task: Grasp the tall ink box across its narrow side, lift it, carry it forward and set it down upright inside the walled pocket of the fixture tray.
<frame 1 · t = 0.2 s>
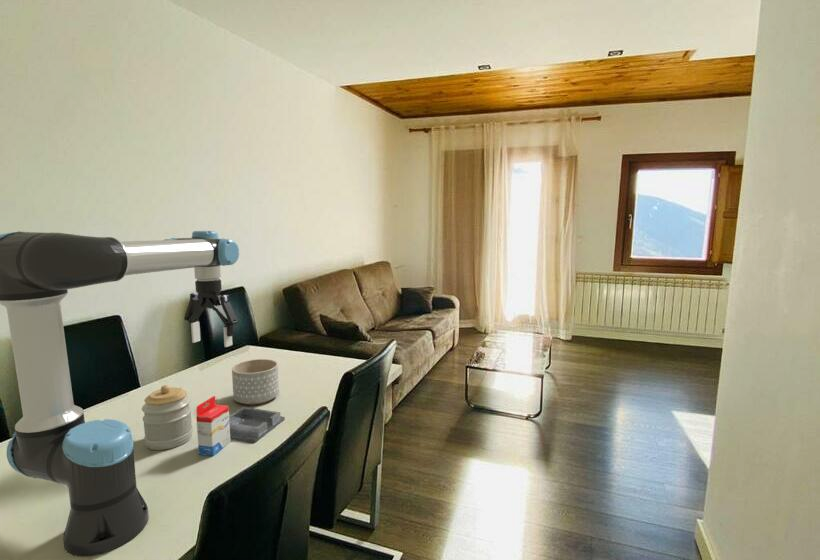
hand: (212, 343, 139), 27 cm above the table, fingers open, 13 cm apart
fixture tray: (250, 427, 140), on the table
planter: (256, 398, 164), on the table
ink box: (215, 448, 127), on the table
jar: (169, 440, 132), on the table
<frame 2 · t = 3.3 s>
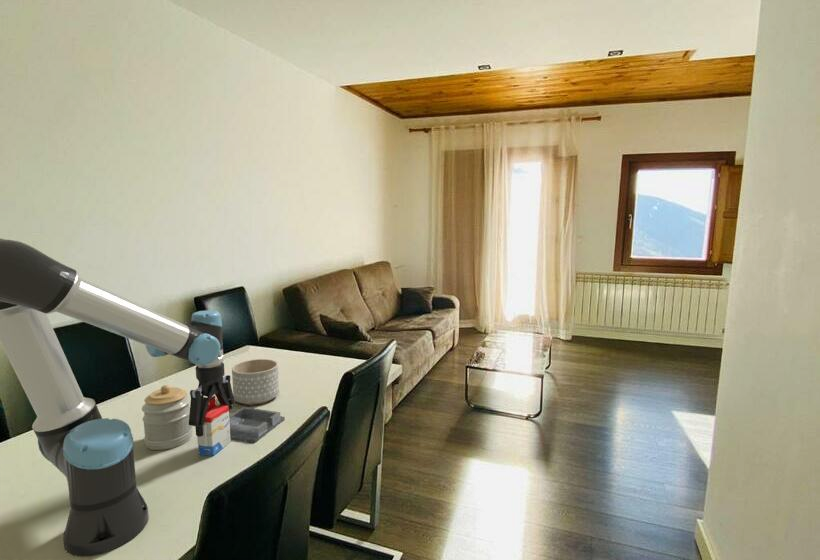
hand: (214, 437, 127), 3 cm above the table, fingers closed on ink box, 9 cm apart
ink box: (215, 448, 127), on the table, touching gripper
everything else where it was.
when the fingers open (6 cm above the table, at t = 8.0 s): ink box drops 2 cm, resting on fixture tray.
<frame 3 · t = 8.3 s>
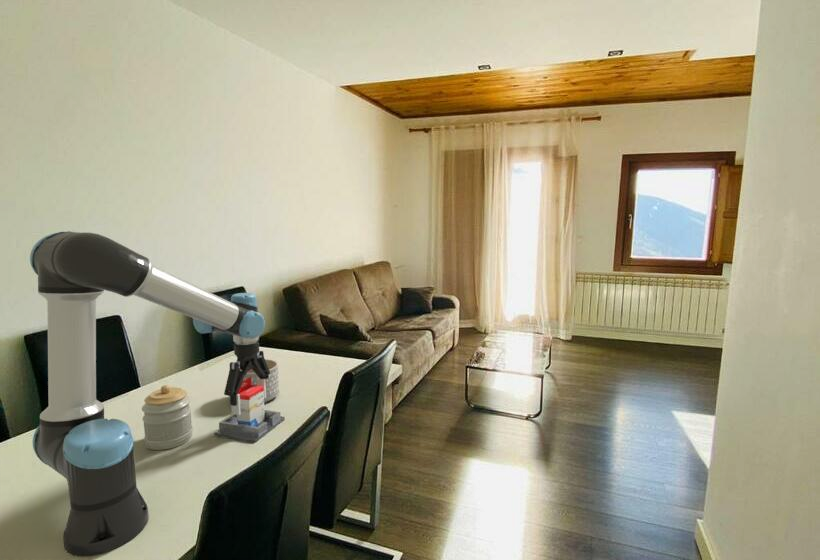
hand: (249, 405, 139), 8 cm above the table, fingers open, 12 cm apart
ink box: (251, 424, 140), point 1 cm above the table, touching fixture tray
everything else where it was.
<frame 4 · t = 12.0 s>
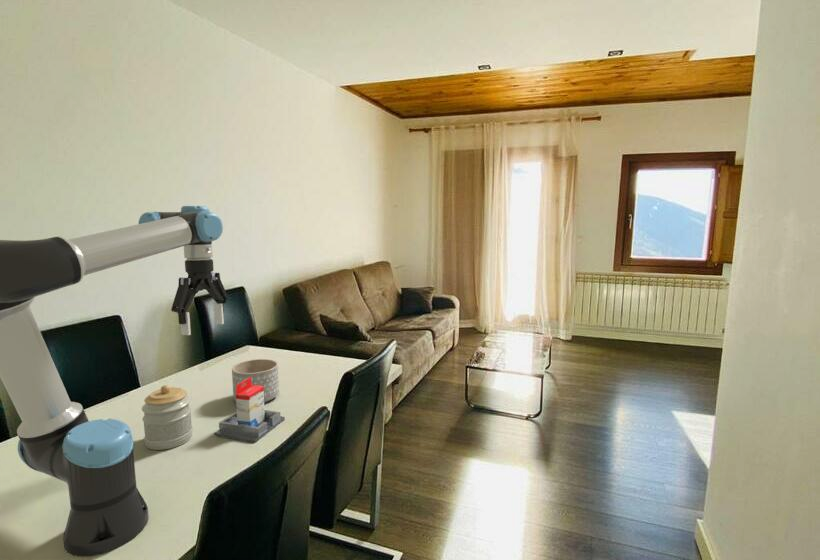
hand: (203, 329, 129), 35 cm above the table, fingers open, 13 cm apart
nothing on the table moved.
at the end: ink box 0.4 cm off-centre on the fixture tray, point 0.8 cm above the fixture tray's base; ink box tilted 0°; the gripper is holding nothing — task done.
